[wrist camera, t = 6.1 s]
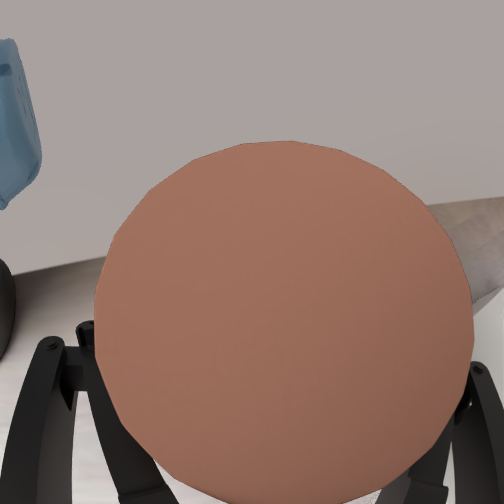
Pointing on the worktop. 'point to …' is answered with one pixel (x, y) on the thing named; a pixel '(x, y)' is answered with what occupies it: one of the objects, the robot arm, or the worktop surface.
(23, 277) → the worktop surface
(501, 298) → the white square tray
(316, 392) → the coffee jar
